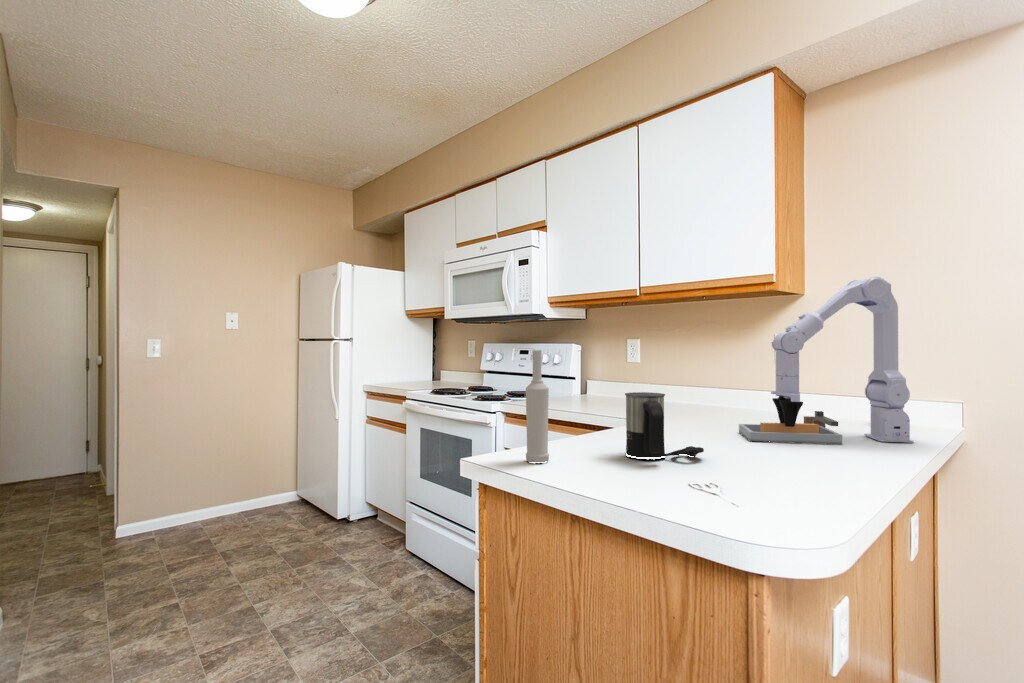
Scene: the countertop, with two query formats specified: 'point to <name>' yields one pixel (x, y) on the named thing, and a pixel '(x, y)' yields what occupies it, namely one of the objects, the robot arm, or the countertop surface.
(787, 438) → the parts tray
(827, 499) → the countertop surface
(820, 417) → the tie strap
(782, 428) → the orange-brown bar
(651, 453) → the milk frother
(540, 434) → the bottle
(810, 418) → the clamp posts
